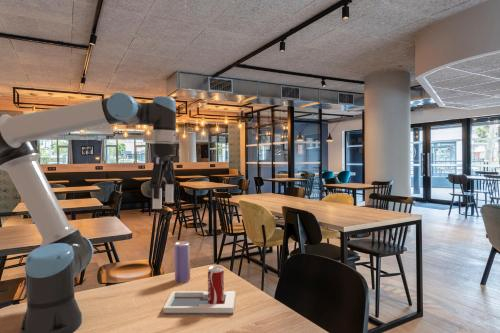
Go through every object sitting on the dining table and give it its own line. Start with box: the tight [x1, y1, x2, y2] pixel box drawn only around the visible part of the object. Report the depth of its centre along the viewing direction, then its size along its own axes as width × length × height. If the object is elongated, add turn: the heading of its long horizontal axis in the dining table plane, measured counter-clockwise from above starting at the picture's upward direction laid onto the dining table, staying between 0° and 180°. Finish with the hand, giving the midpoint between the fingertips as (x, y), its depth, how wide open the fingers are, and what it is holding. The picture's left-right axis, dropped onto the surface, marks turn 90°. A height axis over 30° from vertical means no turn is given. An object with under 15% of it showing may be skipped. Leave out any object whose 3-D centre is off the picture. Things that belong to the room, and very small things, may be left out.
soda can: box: [207, 265, 225, 304], centre depth 105 cm, size 5×5×12 cm
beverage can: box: [173, 240, 191, 284], centre depth 126 cm, size 6×6×15 cm
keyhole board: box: [162, 290, 236, 316], centre depth 105 cm, size 22×12×2 cm, turn 89°
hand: (163, 205), depth 109 cm, fingers open, 13 cm apart
